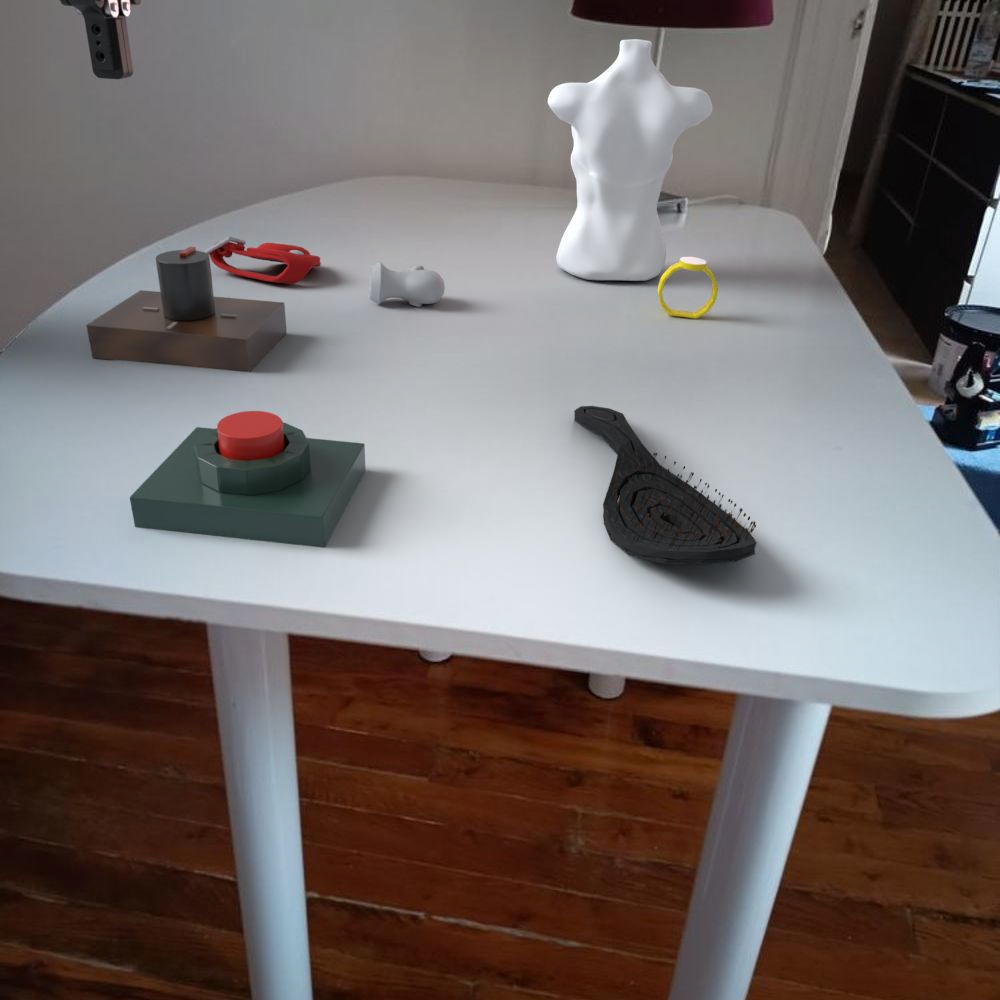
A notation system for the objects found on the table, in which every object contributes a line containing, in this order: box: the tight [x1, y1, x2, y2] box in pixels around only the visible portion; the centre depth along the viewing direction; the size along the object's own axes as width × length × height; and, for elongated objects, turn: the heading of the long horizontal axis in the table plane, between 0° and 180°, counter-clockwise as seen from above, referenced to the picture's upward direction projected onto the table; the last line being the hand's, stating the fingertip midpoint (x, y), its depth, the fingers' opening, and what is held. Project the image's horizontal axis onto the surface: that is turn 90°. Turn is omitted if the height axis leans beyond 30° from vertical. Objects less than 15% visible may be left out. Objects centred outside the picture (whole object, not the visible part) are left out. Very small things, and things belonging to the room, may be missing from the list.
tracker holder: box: [203, 236, 322, 285], centre depth 101 cm, size 12×4×10 cm
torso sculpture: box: [547, 38, 714, 282], centre depth 103 cm, size 18×10×25 cm, turn 95°
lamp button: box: [216, 410, 285, 461], centre depth 58 cm, size 4×4×2 cm
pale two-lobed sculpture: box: [368, 261, 446, 308], centre depth 95 cm, size 4×8×5 cm
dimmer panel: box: [86, 289, 287, 373], centre depth 82 cm, size 14×10×3 cm
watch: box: [657, 256, 719, 320], centre depth 95 cm, size 6×3×6 cm, turn 86°
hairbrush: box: [574, 405, 758, 565], centre depth 62 cm, size 8×4×25 cm
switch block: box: [129, 421, 366, 548], centre depth 59 cm, size 12×10×4 cm
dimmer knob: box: [155, 246, 215, 321], centre depth 80 cm, size 4×4×5 cm
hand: (113, 77), depth 63 cm, fingers closed
